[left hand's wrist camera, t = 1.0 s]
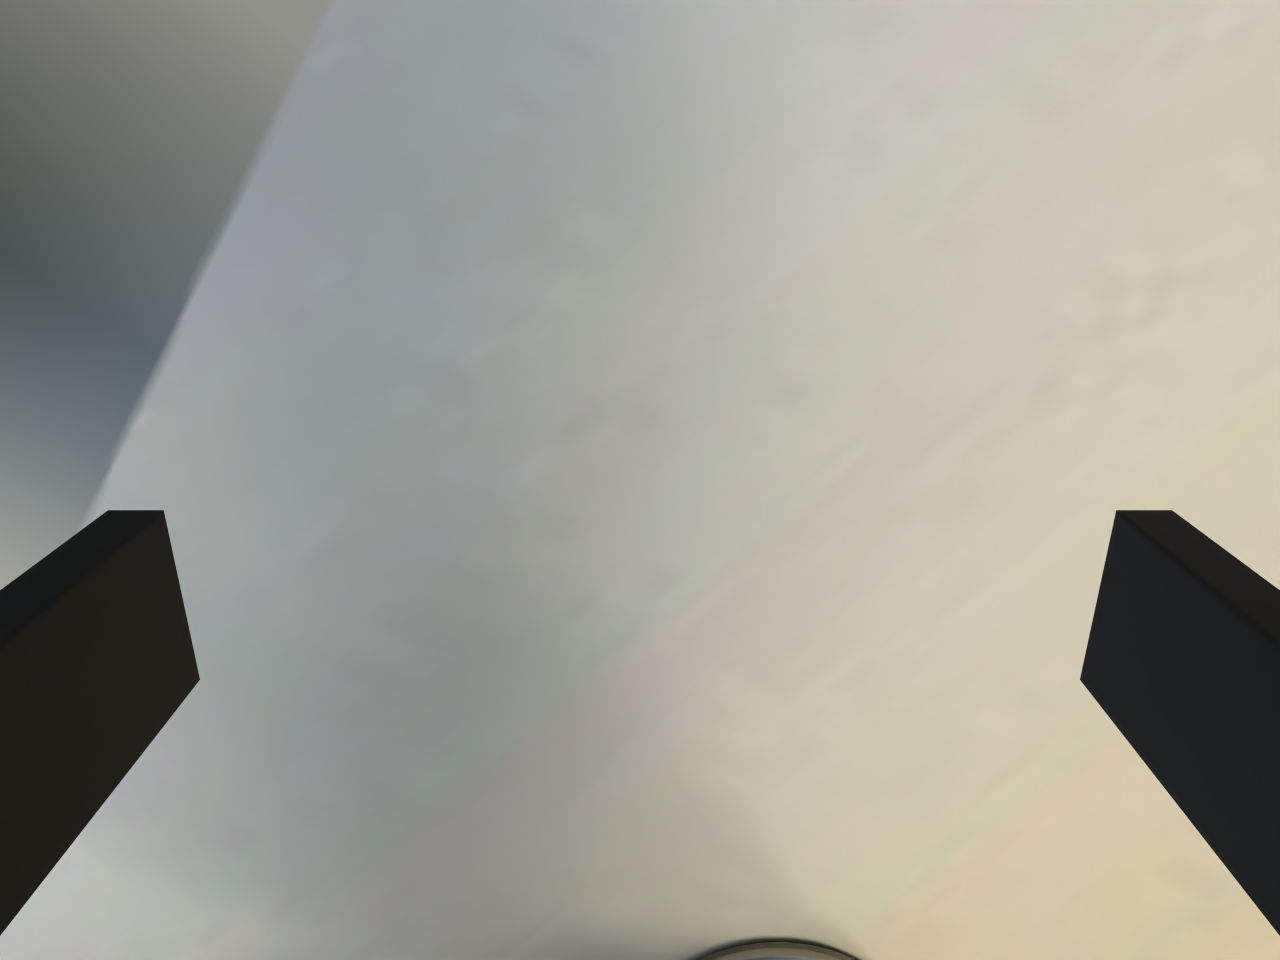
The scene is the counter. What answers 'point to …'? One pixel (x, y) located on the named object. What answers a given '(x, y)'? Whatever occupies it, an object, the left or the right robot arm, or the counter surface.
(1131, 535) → the left robot arm
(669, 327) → the counter surface
